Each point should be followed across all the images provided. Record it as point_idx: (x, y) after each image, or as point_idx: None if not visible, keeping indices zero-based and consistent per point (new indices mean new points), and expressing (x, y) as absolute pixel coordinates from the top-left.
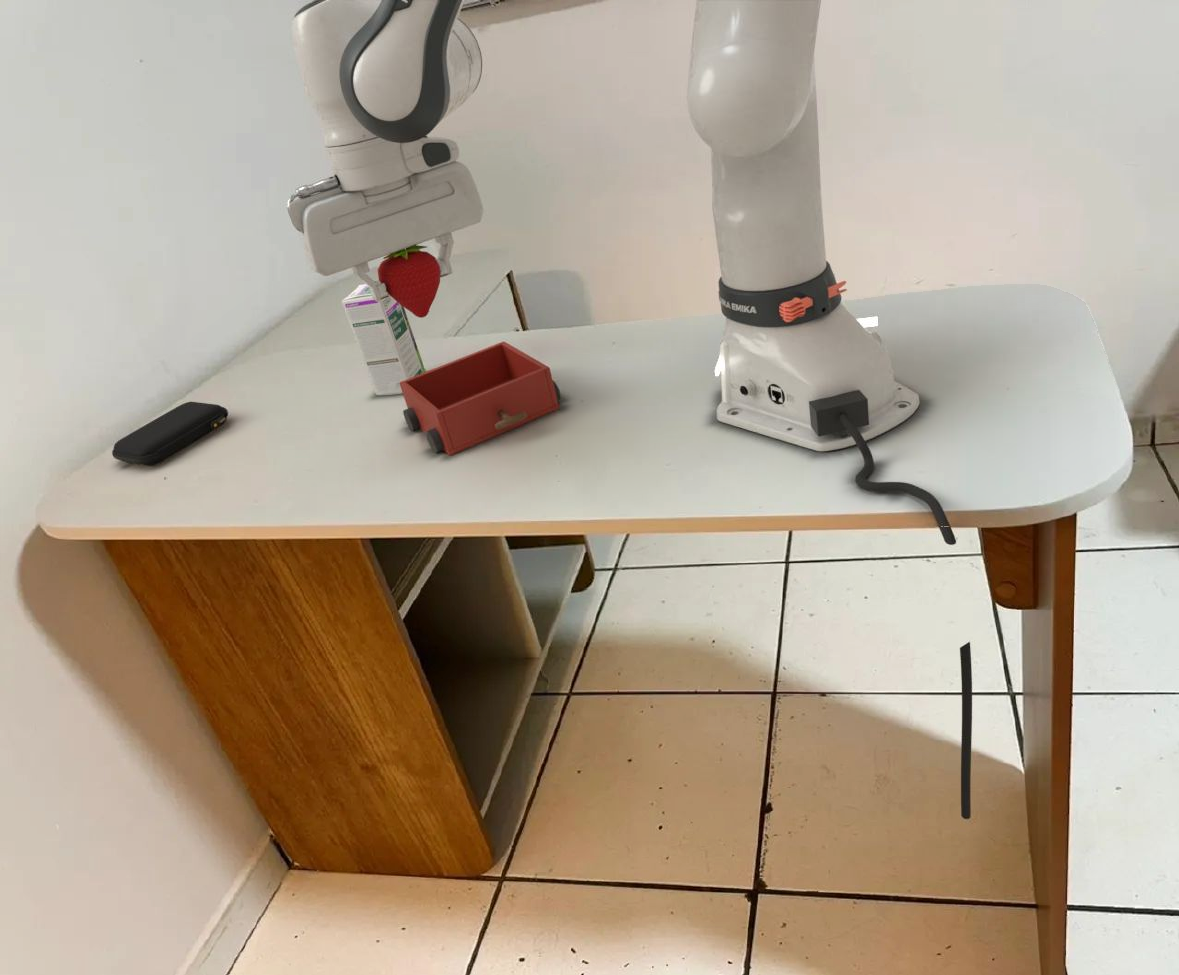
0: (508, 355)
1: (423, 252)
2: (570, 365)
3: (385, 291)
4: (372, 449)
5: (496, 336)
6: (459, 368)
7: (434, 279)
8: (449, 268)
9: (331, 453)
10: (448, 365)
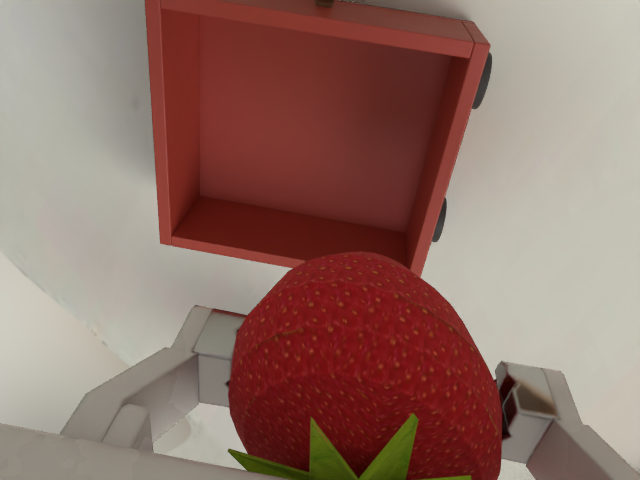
0: (178, 202)
1: (269, 430)
2: (83, 141)
3: (518, 379)
4: (530, 213)
5: (138, 361)
6: (284, 246)
7: (315, 269)
8: (196, 318)
9: (577, 272)
10: (303, 259)
